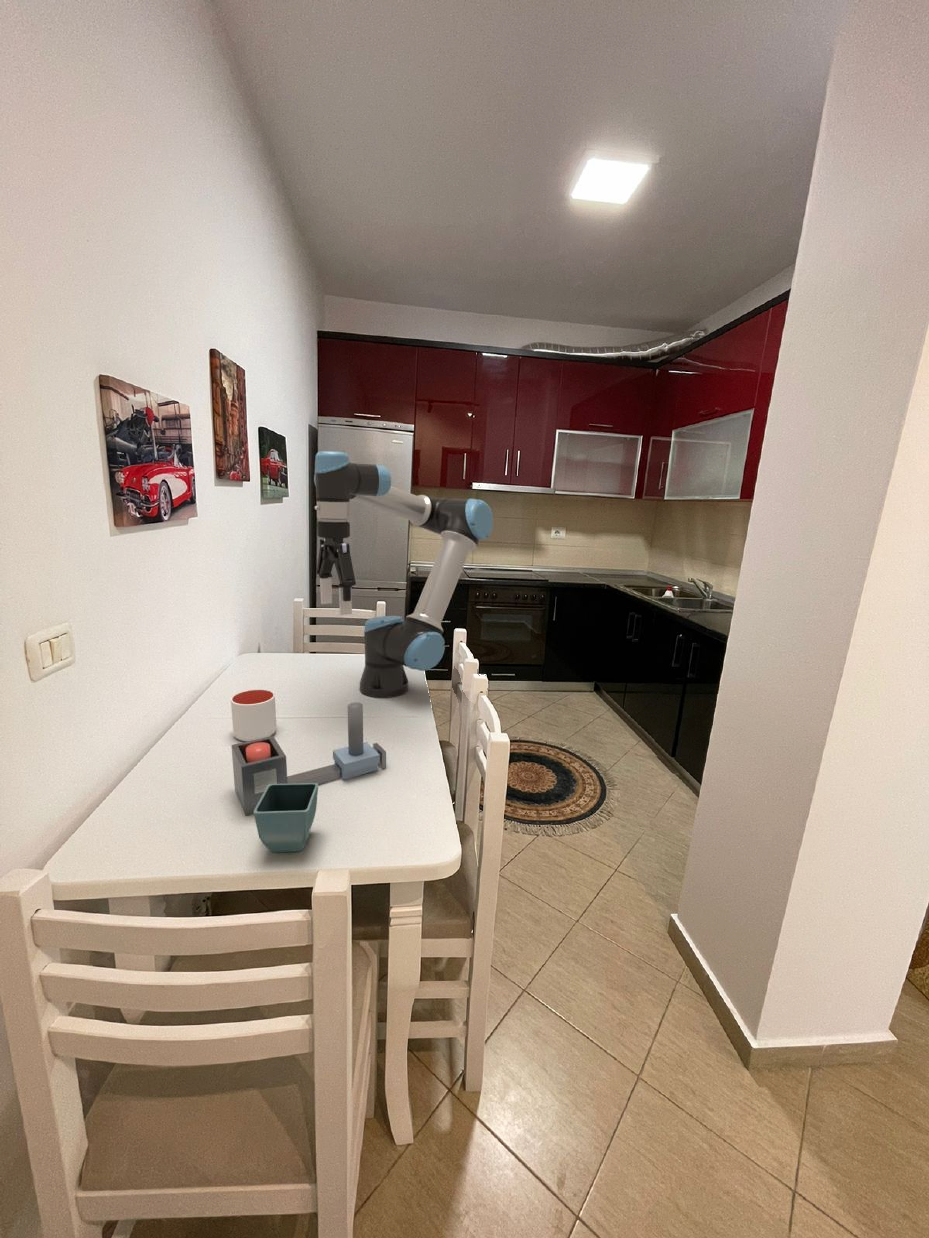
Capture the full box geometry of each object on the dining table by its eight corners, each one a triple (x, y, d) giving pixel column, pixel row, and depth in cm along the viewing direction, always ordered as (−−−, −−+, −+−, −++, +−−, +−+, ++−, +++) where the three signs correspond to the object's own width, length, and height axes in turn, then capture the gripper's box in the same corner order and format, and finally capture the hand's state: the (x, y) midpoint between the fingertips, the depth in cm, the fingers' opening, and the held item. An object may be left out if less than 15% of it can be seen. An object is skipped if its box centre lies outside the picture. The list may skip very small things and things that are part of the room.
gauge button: (268, 763, 104) (267, 740, 103) (273, 772, 100) (272, 749, 99) (245, 768, 101) (243, 745, 100) (250, 778, 98) (248, 755, 97)
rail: (377, 758, 118) (376, 742, 117) (386, 768, 114) (386, 751, 113) (278, 784, 106) (277, 767, 105) (285, 796, 102) (284, 778, 101)
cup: (262, 745, 123) (259, 706, 120) (224, 740, 125) (221, 702, 122) (284, 728, 132) (282, 691, 130) (249, 723, 134) (247, 687, 132)
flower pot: (270, 827, 93) (268, 782, 91) (320, 826, 94) (318, 782, 92) (255, 860, 84) (252, 812, 82) (310, 859, 85) (308, 811, 83)
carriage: (367, 757, 118) (366, 696, 114) (379, 771, 112) (379, 707, 109) (333, 766, 114) (331, 703, 110) (344, 781, 108) (343, 715, 104)
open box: (275, 779, 108) (273, 735, 106) (288, 803, 100) (286, 756, 98) (234, 789, 104) (231, 744, 102) (245, 816, 96) (241, 767, 93)
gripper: (301, 517, 129) (305, 600, 134) (336, 523, 109) (338, 620, 114) (331, 518, 133) (333, 598, 138) (369, 523, 113) (370, 617, 118)
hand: (335, 608), depth 126 cm, fingers open, 13 cm apart
